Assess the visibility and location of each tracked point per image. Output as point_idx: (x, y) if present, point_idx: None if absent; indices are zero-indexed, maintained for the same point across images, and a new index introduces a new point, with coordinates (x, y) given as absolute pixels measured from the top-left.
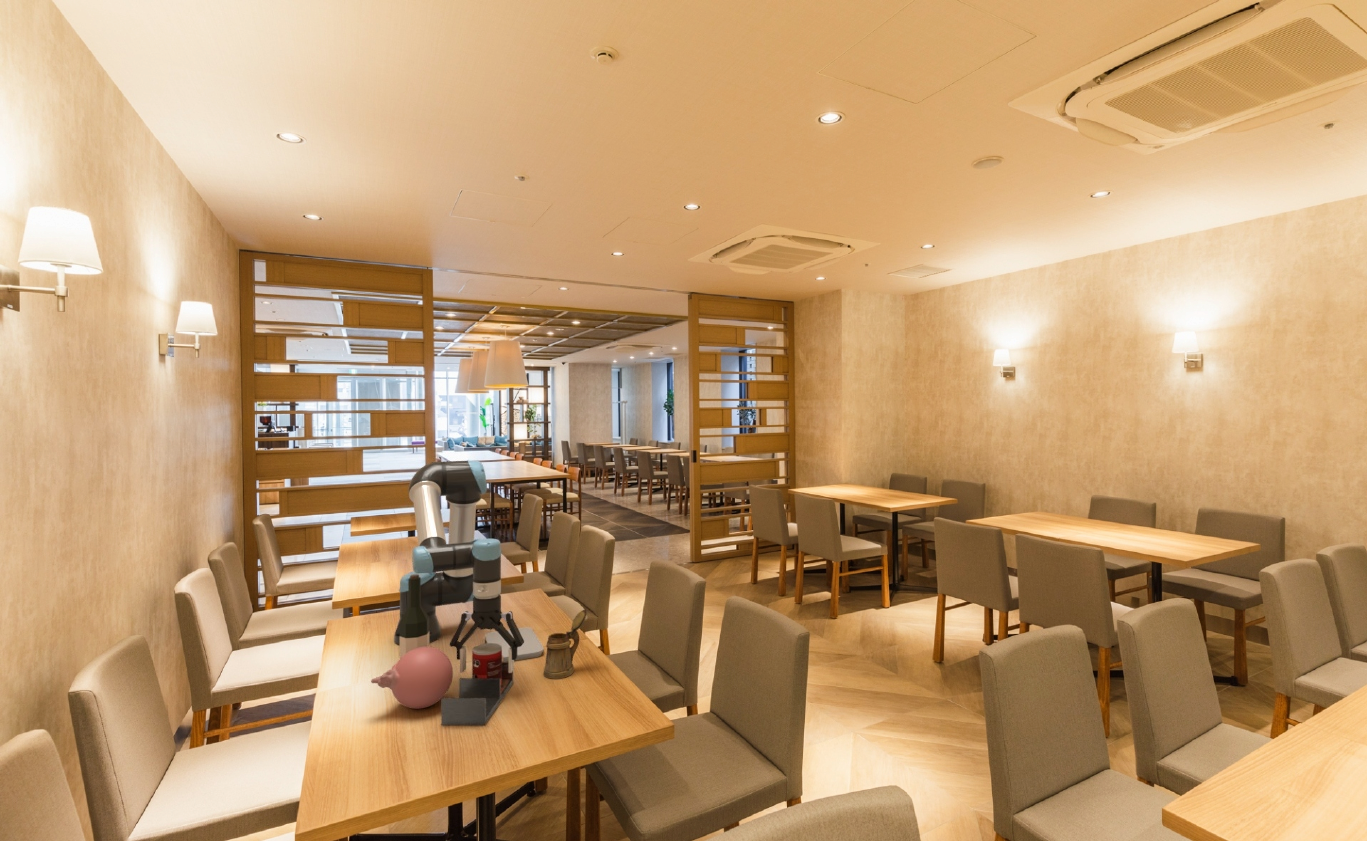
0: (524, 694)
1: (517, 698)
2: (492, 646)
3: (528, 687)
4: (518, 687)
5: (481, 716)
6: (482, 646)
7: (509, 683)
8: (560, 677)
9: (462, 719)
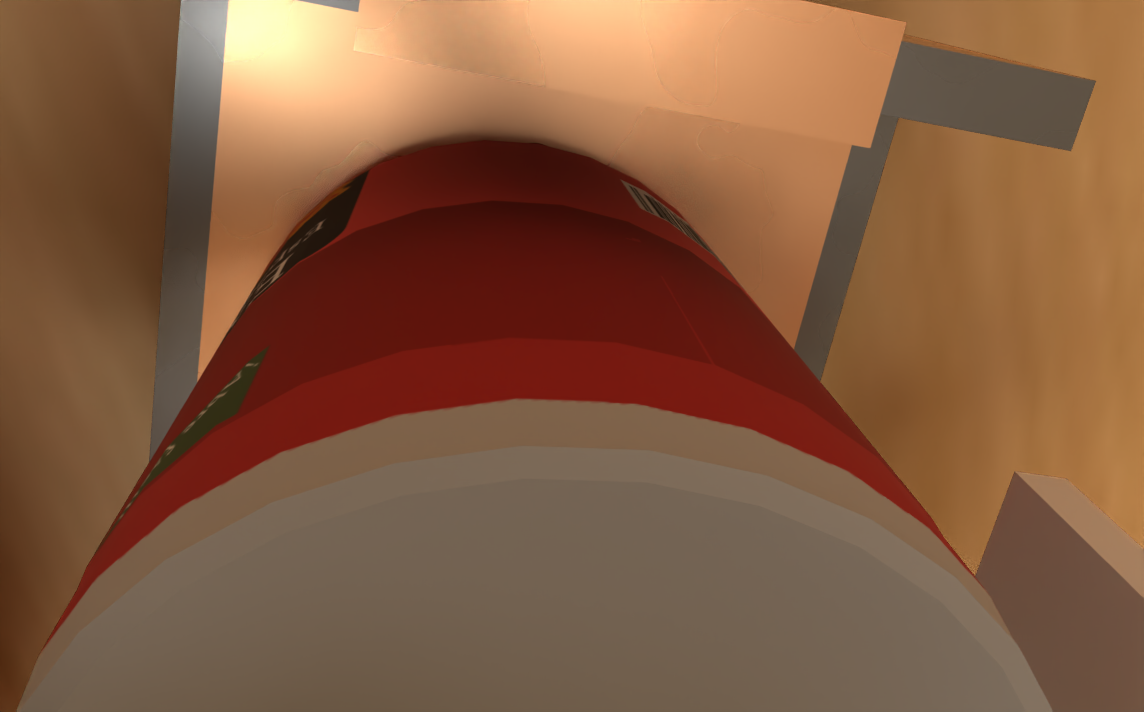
0: (1028, 439)
1: None
2: (721, 662)
3: (1106, 219)
4: (961, 194)
5: None
6: (309, 656)
7: (855, 250)
8: None
9: None
